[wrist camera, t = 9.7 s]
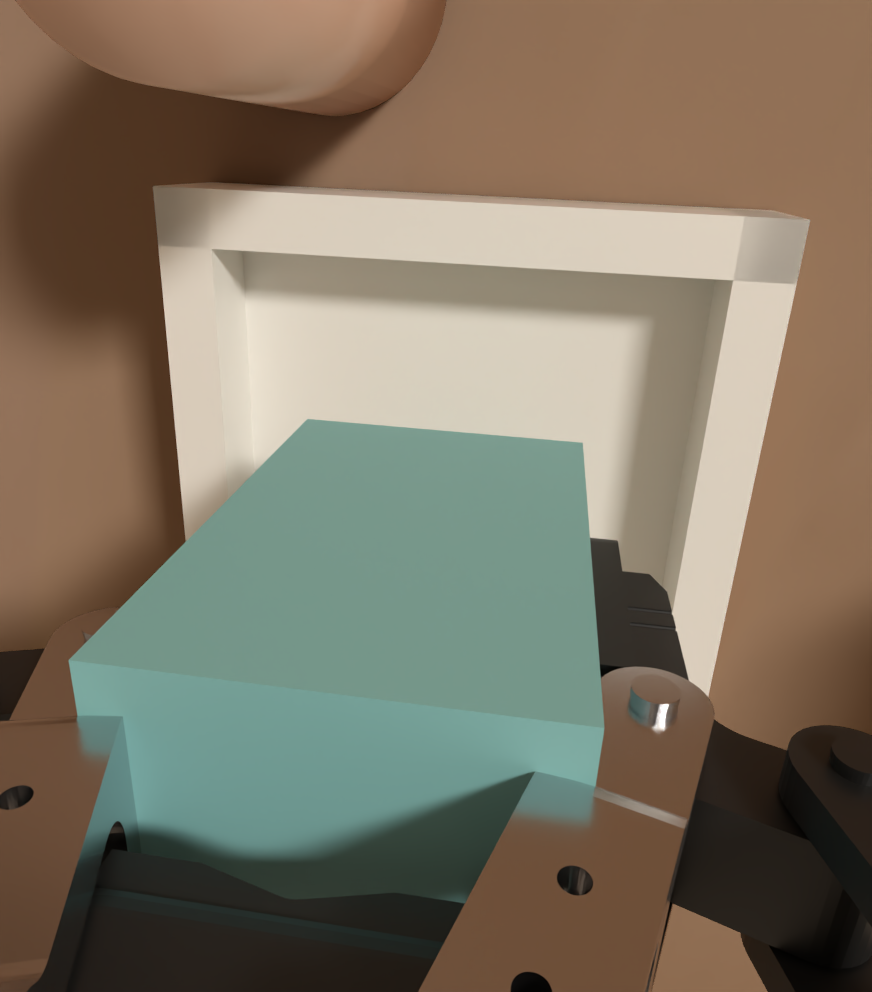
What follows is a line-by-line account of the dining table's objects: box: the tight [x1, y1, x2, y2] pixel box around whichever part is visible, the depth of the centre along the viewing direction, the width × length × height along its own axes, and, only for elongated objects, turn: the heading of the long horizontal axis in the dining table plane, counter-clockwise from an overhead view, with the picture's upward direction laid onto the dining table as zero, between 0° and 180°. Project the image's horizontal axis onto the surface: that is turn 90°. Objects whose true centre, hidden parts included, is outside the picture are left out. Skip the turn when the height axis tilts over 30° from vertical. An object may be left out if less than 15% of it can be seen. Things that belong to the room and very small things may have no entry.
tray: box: [153, 182, 810, 697], centre depth 17 cm, size 11×11×2 cm
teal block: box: [69, 419, 604, 903], centre depth 11 cm, size 4×4×7 cm
